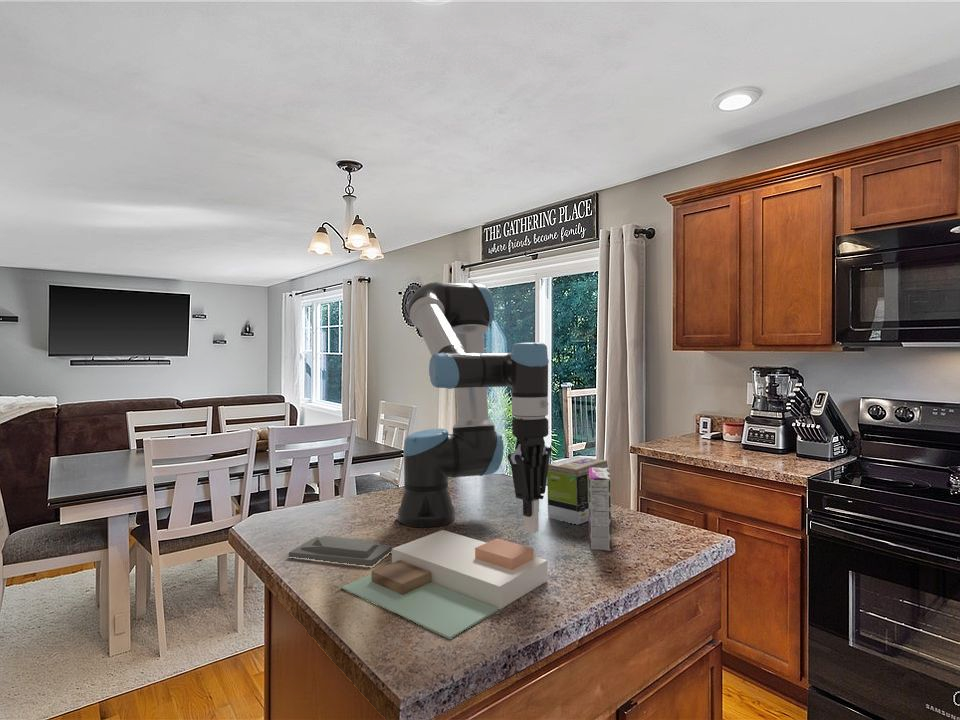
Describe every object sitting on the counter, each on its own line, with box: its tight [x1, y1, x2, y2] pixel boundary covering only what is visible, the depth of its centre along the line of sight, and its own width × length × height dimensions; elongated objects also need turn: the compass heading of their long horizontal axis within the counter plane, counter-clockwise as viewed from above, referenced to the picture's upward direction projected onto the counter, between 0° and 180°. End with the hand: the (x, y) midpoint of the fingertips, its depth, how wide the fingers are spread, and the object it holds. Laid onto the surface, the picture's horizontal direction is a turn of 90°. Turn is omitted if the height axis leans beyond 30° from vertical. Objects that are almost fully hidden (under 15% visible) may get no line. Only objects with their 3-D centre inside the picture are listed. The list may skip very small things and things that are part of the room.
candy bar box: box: [588, 467, 612, 552], centre depth 124 cm, size 11×5×16 cm, turn 168°
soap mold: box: [288, 535, 393, 566], centre depth 117 cm, size 10×20×4 cm, turn 73°
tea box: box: [546, 456, 609, 526], centre depth 144 cm, size 15×10×15 cm, turn 134°
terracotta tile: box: [475, 537, 535, 570], centre depth 104 cm, size 9×7×2 cm
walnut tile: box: [371, 560, 431, 595], centre depth 102 cm, size 9×7×2 cm
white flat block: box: [391, 529, 548, 611], centre depth 106 cm, size 28×15×4 cm, turn 50°
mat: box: [340, 573, 499, 640], centre depth 96 cm, size 28×12×1 cm, turn 50°
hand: (531, 530), depth 111 cm, fingers closed
